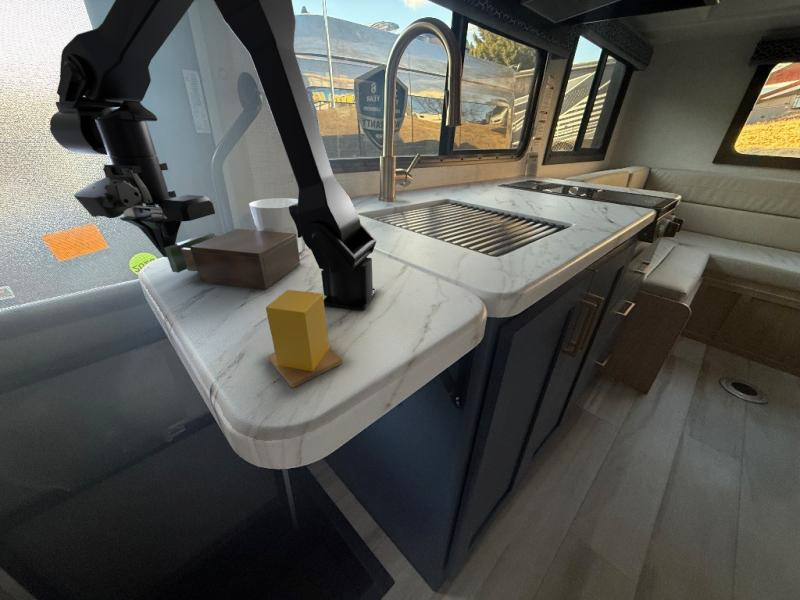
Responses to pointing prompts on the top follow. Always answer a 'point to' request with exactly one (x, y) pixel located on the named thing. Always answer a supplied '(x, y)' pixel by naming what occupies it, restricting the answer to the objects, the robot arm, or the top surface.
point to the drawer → (185, 253)
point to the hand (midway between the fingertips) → (168, 256)
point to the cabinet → (246, 258)
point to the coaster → (301, 376)
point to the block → (298, 329)
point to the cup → (275, 217)
